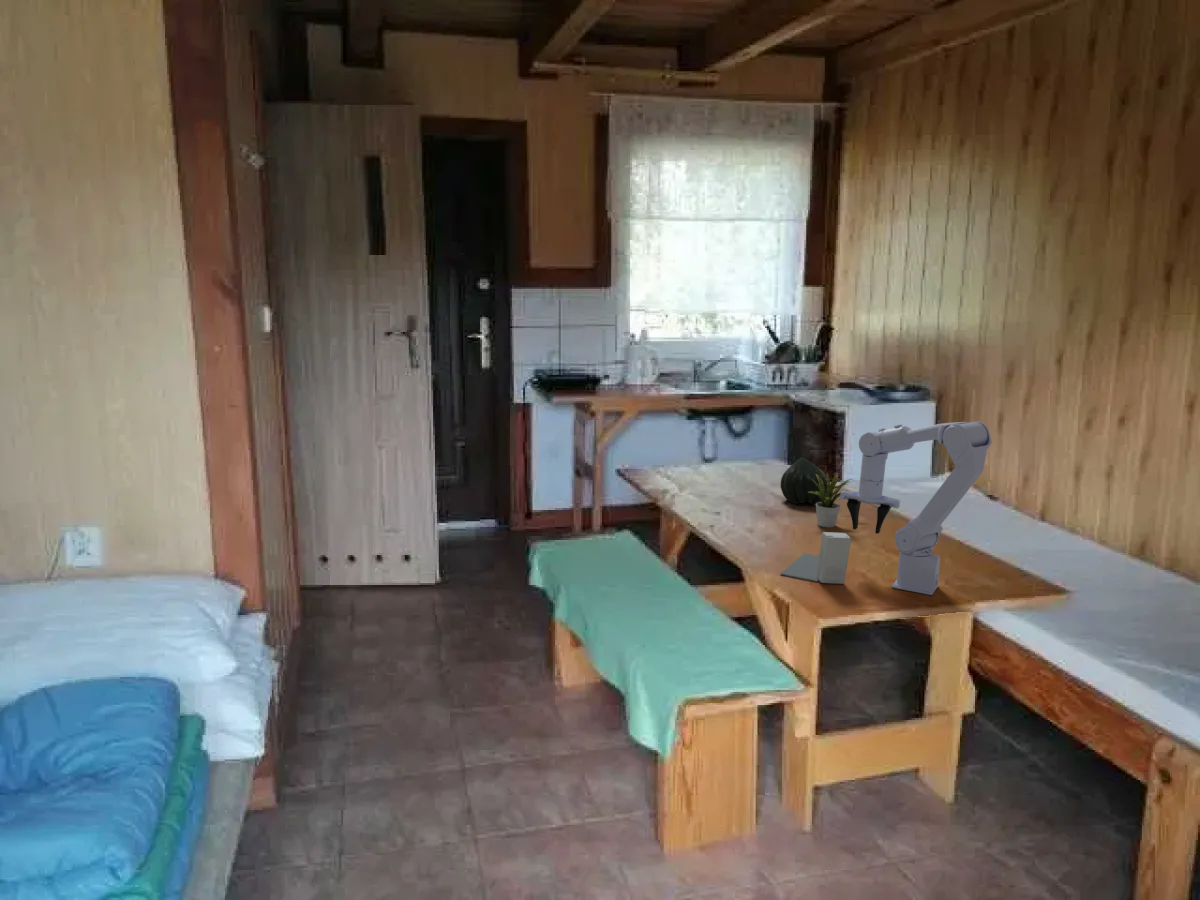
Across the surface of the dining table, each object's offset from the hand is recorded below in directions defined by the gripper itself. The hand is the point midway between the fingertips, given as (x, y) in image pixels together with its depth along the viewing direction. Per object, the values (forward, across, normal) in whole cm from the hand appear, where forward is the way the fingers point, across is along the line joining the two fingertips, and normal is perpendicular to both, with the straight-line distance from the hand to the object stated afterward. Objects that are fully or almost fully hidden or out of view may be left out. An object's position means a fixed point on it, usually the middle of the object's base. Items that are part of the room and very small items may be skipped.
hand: (866, 530), depth 237 cm
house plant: (+11, +18, -34) cm, 40 cm away
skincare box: (+10, +4, +14) cm, 18 cm away
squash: (+12, +33, -57) cm, 67 cm away
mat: (+11, +12, +6) cm, 17 cm away
